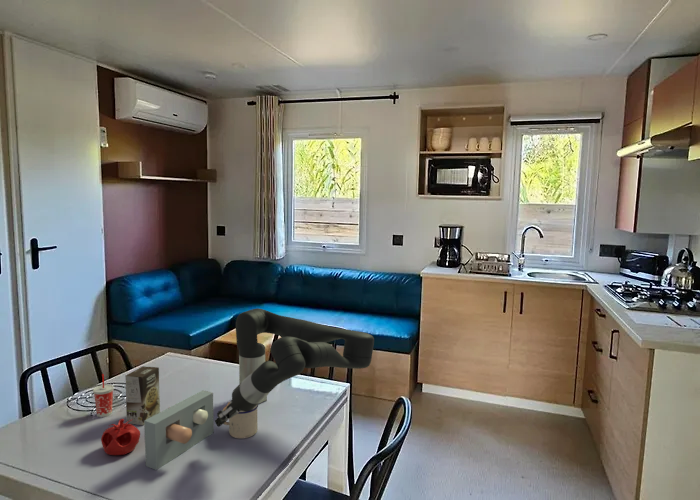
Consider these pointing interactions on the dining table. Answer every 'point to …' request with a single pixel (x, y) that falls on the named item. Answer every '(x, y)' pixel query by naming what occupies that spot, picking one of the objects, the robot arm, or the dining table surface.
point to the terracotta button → (178, 433)
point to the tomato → (120, 438)
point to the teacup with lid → (243, 424)
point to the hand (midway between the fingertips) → (218, 422)
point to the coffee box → (142, 394)
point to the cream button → (200, 416)
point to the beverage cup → (103, 399)
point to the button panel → (181, 414)
